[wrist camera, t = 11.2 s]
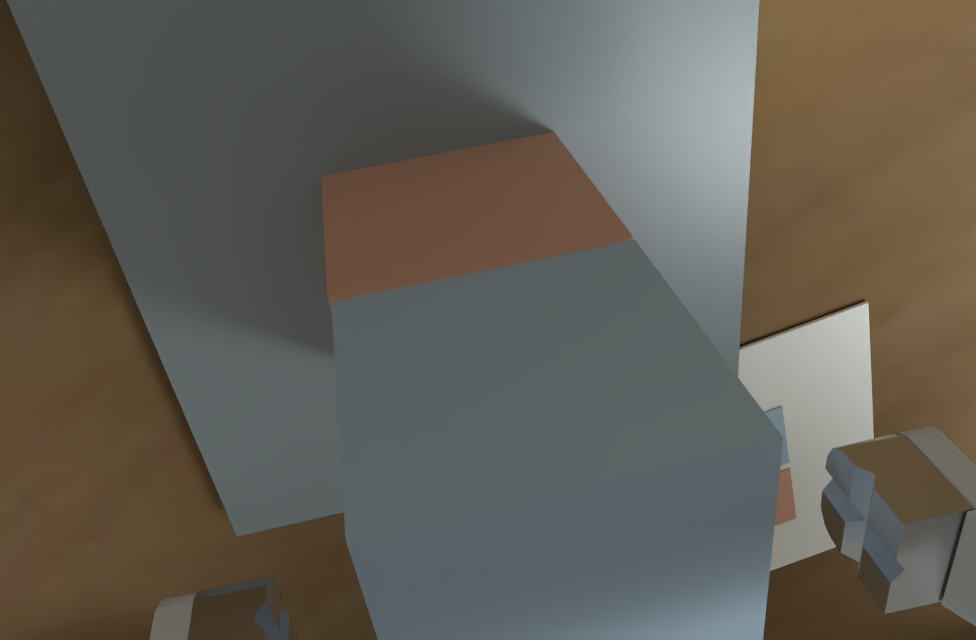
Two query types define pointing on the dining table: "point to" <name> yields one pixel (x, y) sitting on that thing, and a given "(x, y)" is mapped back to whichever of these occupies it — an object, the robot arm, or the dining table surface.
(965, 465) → the robot arm
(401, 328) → the blue brick
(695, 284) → the plate
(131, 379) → the dining table surface
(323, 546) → the dining table surface
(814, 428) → the page
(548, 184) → the base brick
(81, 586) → the dining table surface
